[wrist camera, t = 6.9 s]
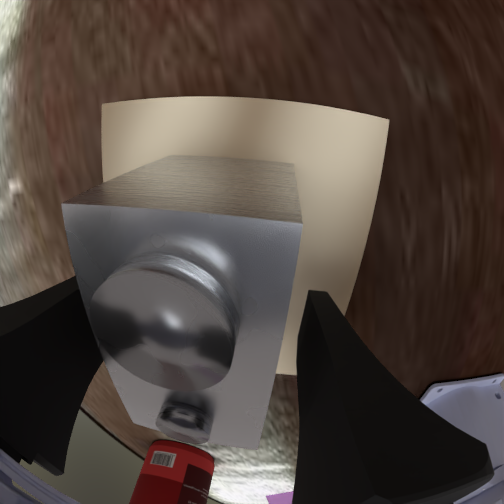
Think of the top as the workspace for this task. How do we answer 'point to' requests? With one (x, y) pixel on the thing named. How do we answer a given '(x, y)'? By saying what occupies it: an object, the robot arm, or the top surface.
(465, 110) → the top surface
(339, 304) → the stand
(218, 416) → the housing
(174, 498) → the canned food
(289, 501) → the toy chair
